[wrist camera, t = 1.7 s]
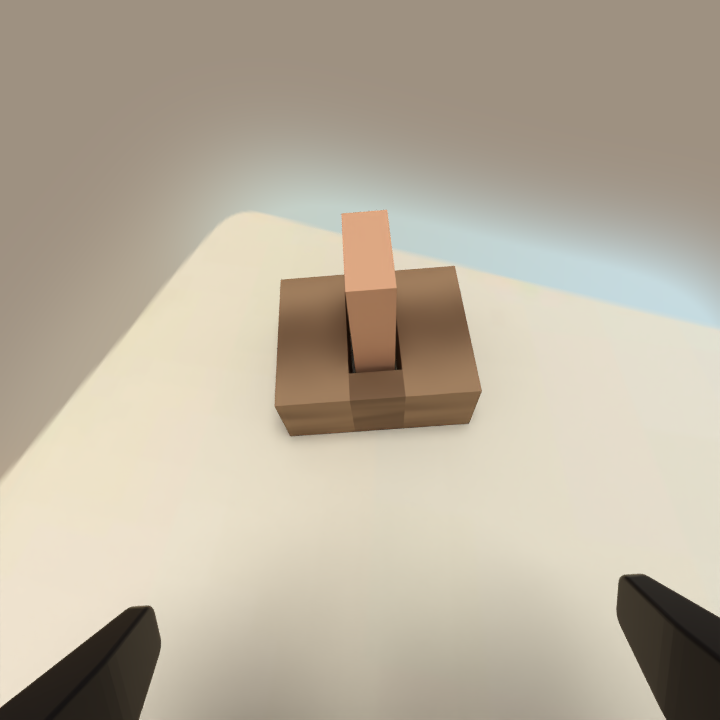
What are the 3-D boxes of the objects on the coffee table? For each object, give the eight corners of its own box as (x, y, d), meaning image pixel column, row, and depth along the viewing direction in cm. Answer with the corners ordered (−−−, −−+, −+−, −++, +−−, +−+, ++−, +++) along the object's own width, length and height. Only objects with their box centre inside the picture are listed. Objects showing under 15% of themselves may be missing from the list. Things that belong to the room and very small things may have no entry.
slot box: (468, 423, 25) (481, 391, 21) (290, 436, 25) (274, 406, 22) (446, 308, 29) (454, 266, 25) (293, 320, 29) (280, 279, 26)
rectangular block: (394, 399, 26) (396, 287, 17) (359, 402, 26) (345, 291, 17) (387, 336, 28) (387, 209, 19) (356, 338, 28) (341, 213, 19)
